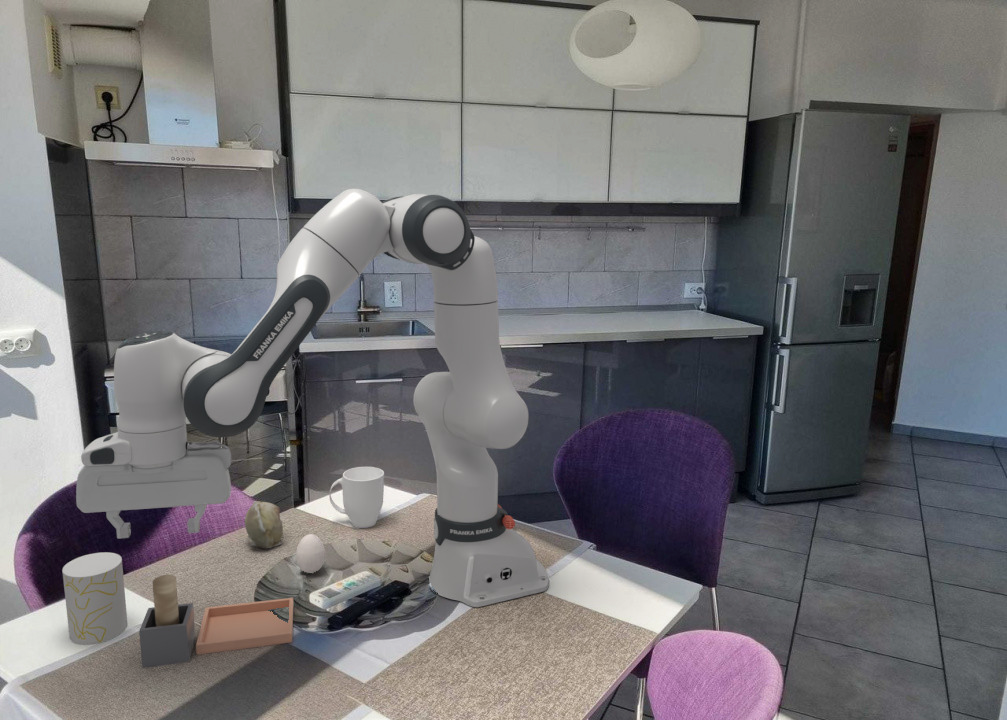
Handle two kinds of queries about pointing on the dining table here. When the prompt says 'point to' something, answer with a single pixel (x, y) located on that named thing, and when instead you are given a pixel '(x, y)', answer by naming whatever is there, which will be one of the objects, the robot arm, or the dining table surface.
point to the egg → (310, 553)
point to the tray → (244, 626)
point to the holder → (167, 638)
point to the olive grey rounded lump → (264, 525)
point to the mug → (361, 495)
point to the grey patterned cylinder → (95, 598)
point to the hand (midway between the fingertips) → (159, 534)
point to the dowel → (165, 600)
